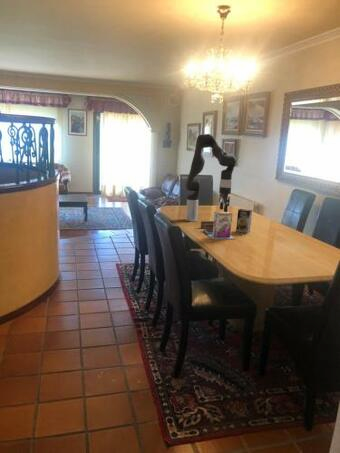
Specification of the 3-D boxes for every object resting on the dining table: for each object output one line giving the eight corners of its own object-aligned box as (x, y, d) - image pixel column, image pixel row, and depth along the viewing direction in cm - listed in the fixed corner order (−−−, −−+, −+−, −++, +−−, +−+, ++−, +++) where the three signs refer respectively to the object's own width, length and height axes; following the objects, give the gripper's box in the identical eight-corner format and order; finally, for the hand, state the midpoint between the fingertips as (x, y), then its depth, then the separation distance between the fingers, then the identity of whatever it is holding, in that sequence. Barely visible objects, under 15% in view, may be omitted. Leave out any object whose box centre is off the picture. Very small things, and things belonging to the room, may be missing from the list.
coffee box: (235, 231, 268) (237, 209, 264) (238, 229, 274) (240, 208, 270) (247, 233, 264) (250, 211, 260) (250, 231, 269) (252, 209, 266)
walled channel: (200, 227, 274) (200, 221, 273) (218, 227, 277) (219, 221, 276) (204, 231, 264) (204, 224, 263) (223, 231, 266) (223, 224, 265)
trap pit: (203, 231, 263) (203, 229, 262) (224, 231, 266) (225, 229, 265) (207, 235, 253) (207, 232, 253) (229, 235, 256) (229, 232, 256)
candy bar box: (214, 237, 245) (216, 213, 242) (212, 235, 250) (214, 211, 247) (230, 237, 247) (232, 213, 244) (228, 235, 252) (230, 211, 248)
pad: (207, 235, 252) (207, 234, 252) (230, 235, 255) (230, 234, 255) (211, 239, 243) (211, 238, 242) (235, 239, 246) (235, 238, 245)
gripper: (216, 184, 247) (214, 208, 251) (223, 187, 234) (221, 212, 237) (227, 185, 249) (225, 208, 252) (234, 187, 235) (232, 212, 239)
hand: (223, 210), depth 245 cm, fingers open, 8 cm apart
